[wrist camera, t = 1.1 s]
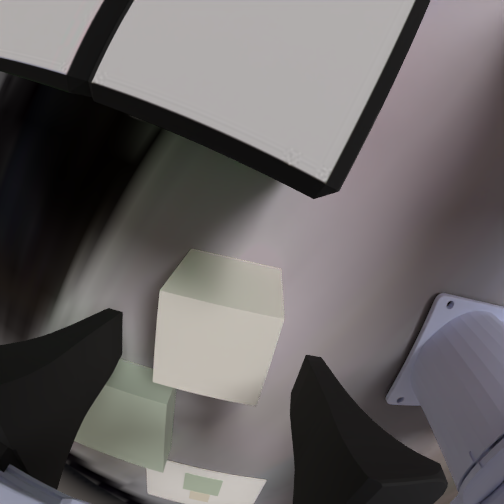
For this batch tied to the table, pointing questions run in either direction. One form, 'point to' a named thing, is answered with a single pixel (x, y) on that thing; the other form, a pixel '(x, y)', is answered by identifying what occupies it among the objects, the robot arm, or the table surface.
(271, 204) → the table surface
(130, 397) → the base brick
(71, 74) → the puzzle cube
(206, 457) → the table surface
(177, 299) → the cream brick
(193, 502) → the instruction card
